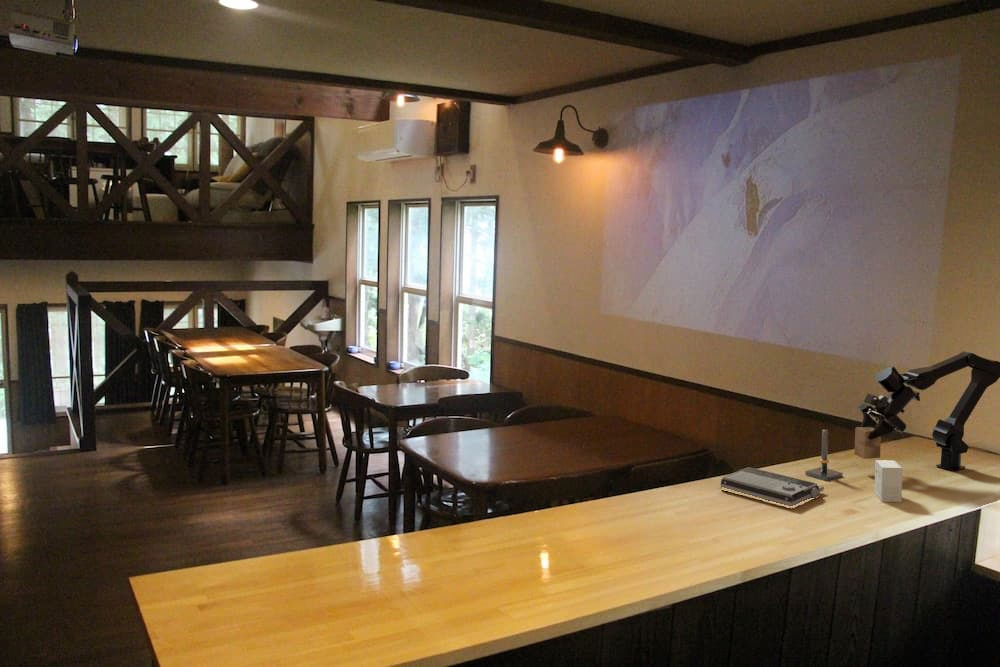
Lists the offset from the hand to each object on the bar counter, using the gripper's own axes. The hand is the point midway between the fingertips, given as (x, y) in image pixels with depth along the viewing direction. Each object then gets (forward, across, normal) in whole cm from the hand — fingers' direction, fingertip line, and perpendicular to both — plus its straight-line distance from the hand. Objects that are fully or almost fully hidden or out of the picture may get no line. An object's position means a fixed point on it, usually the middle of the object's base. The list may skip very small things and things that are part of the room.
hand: (863, 436), depth 256 cm
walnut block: (+4, 0, +6) cm, 7 cm away
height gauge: (+18, 0, -1) cm, 18 cm away
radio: (+35, +12, -17) cm, 41 cm away
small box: (+13, +23, +5) cm, 27 cm away
